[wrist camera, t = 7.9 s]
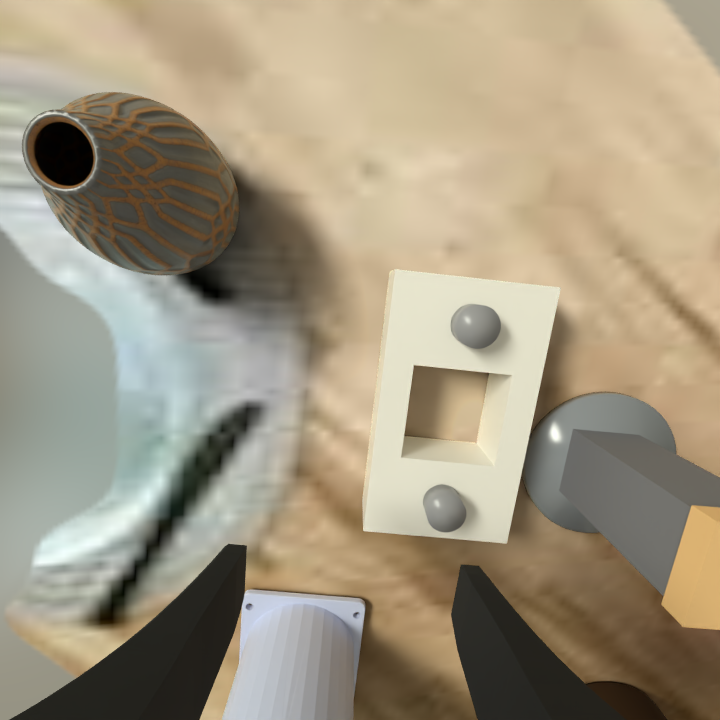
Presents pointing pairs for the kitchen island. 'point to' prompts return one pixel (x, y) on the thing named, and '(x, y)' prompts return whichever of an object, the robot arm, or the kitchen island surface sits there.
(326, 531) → the kitchen island surface
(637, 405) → the coaster
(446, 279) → the switch plate
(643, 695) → the olive oil
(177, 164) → the vase
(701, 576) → the plug
